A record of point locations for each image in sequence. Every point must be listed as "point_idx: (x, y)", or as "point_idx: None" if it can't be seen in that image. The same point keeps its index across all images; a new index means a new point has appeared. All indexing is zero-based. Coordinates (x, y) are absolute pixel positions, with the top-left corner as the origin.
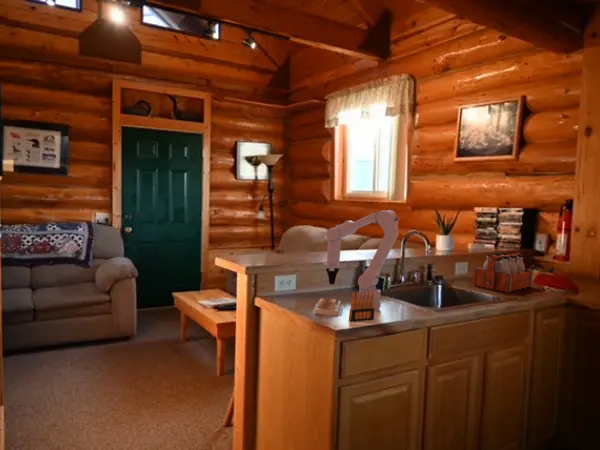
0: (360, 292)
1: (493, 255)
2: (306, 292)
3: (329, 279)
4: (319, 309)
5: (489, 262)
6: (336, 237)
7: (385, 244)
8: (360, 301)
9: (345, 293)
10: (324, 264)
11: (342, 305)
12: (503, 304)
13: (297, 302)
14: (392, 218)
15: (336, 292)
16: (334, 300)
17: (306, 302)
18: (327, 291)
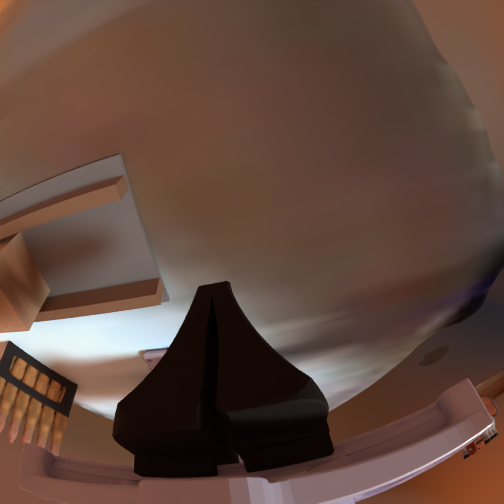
0: (9, 438)
1: (472, 454)
2: (415, 30)
3: (188, 323)
4: None
5: (471, 443)
6: None
7: None
8: (14, 414)
9: (447, 236)
10: (140, 497)
11: (165, 296)
12: None
13: (100, 33)
14: None
15: (458, 194)
16: (8, 328)
17: (129, 78)
18: (467, 148)
